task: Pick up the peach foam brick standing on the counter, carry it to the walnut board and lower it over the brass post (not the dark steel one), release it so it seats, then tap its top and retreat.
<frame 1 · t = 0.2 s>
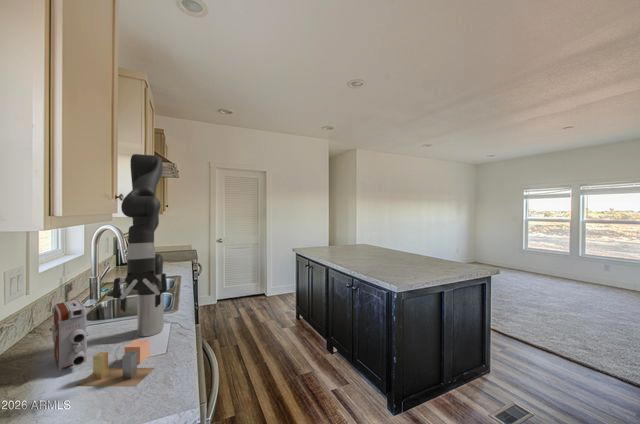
hand: (141, 308, 86), 21 cm above the counter, tool pointing down, fingers open, 8 cm apart
steel post: (129, 376, 84), resting on board
brass post: (100, 376, 84), resting on board
peach foam brick: (137, 362, 93), on the counter
board: (117, 379, 84), on the counter
cine camera: (71, 364, 92), on the counter
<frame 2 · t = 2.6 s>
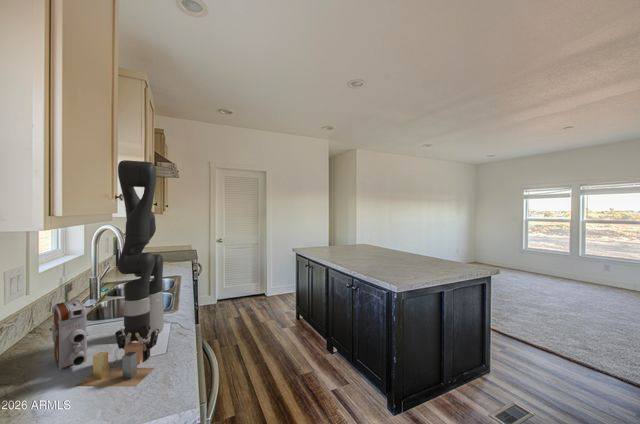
hand: (137, 359, 93), 1 cm above the counter, tool pointing down, fingers closed on peach foam brick, 5 cm apart
peach foam brick: (137, 362, 93), on the counter, touching gripper
everything else where it was.
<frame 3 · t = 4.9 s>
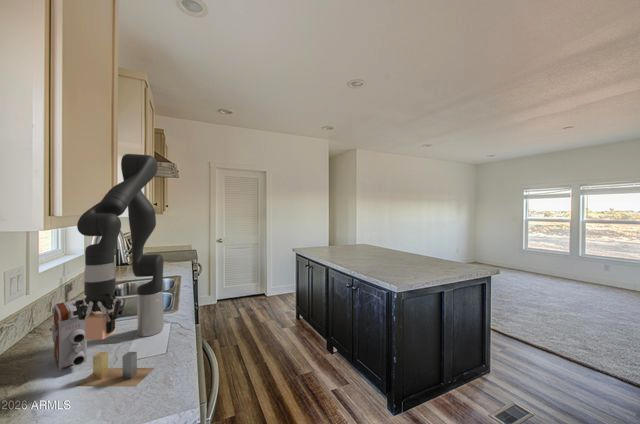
hand: (100, 332, 84), 15 cm above the counter, tool pointing down, fingers closed on peach foam brick, 5 cm apart
peach foam brick: (100, 335, 84), point 14 cm above the counter, touching gripper
everything else where it was.
when the fingers open (4 cm above the counter, at t = 7.0 s): peach foam brick drops 1 cm, resting on brass post.
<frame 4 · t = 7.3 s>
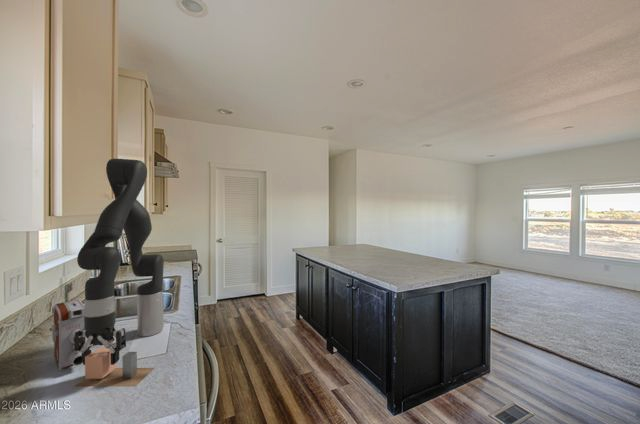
hand: (100, 363, 84), 5 cm above the counter, tool pointing down, fingers open, 8 cm apart
peach foam brick: (100, 373, 84), point 2 cm above the counter, touching brass post
everything else where it was.
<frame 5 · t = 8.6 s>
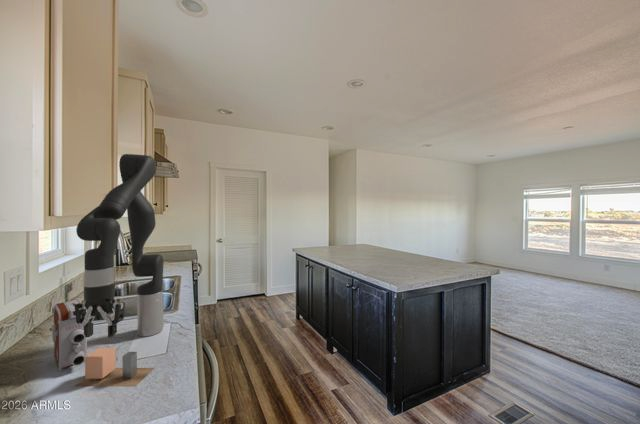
hand: (100, 336, 84), 14 cm above the counter, tool pointing down, fingers open, 6 cm apart
nothing on the counter moved.
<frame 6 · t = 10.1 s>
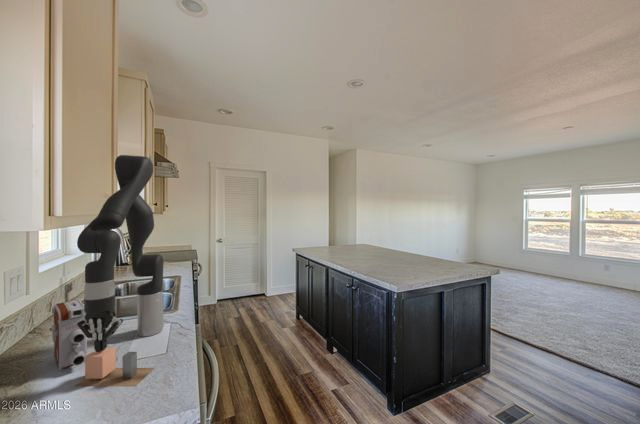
hand: (100, 350, 84), 9 cm above the counter, tool pointing down, fingers closed
nothing on the counter moved.
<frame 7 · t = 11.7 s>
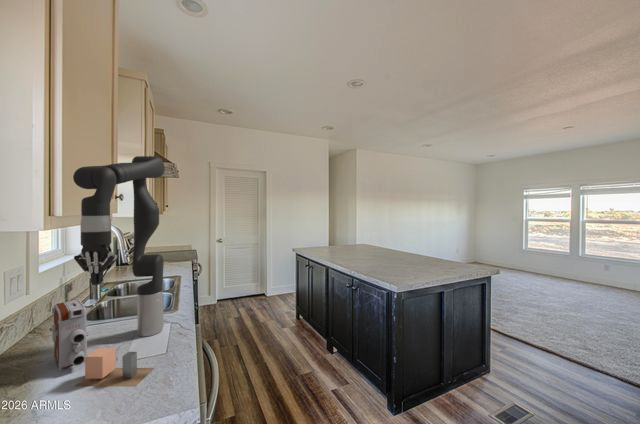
hand: (96, 284, 86), 29 cm above the counter, tool pointing down, fingers closed
nothing on the counter moved.
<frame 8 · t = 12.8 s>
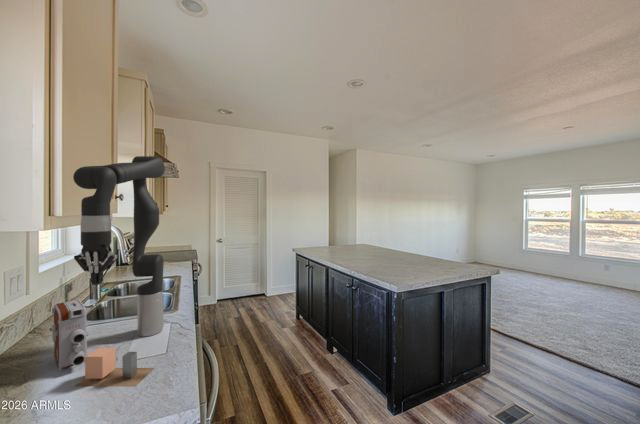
hand: (96, 284, 86), 29 cm above the counter, tool pointing down, fingers closed
nothing on the counter moved.
at the end: peach foam brick 0.0 cm from the brass post (horizontally); peach foam brick point 2.0 cm above the counter; peach foam brick tilted 0° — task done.
